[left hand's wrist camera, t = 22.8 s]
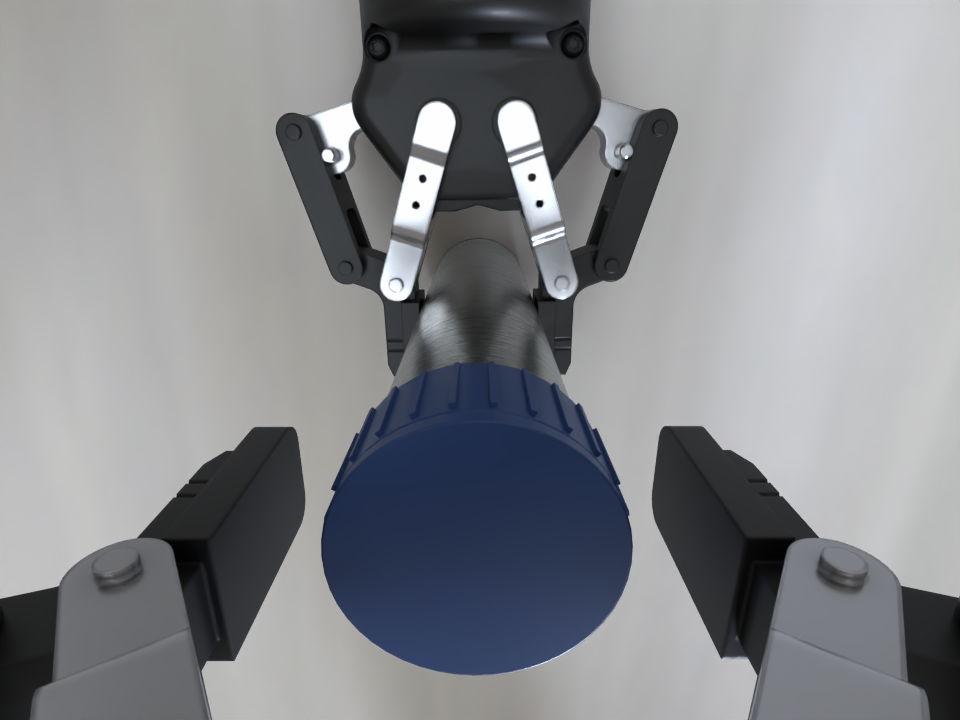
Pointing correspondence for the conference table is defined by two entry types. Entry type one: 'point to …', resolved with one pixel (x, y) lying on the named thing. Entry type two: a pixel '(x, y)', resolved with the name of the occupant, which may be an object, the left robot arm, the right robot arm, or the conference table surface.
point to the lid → (477, 523)
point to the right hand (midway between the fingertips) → (480, 380)
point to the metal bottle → (478, 317)
